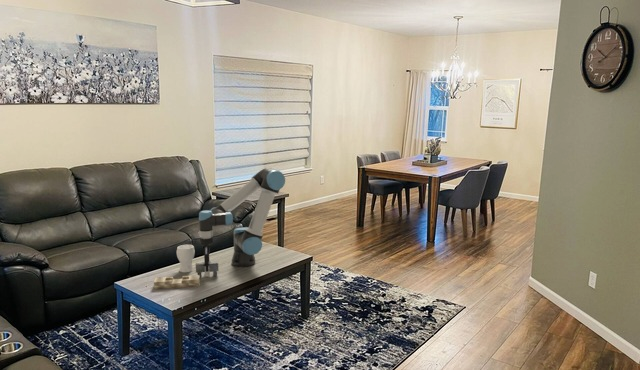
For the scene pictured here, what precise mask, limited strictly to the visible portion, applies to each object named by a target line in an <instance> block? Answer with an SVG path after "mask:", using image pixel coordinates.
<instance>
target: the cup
mask: <svg viewBox="0 0 640 370" xmlns="http://www.w3.org/2000/svg"><path fill="white" fill-rule="evenodd" d="M195 252H196V251H195V246H194V245H193V244H182V245H181V244H180V245H179V246H177V248H176V257H177V259H178V261H179V265H180V267H179V272H180V273H190V272H192V271H193V270H194V269H193V260H194V258H195V254H196V253H195Z"/></svg>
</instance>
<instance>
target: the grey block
mask: <svg viewBox="0 0 640 370" xmlns="http://www.w3.org/2000/svg"><path fill="white" fill-rule="evenodd" d="M203 265H205V262H195V273H197V275H200V278H201V277H202V276H203V275H202V274H203V273H205V266H203ZM209 270H210V273H211V272H212V276H213V277H218V272H219V261H211V262H210V261H209Z"/></svg>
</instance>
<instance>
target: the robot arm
mask: <svg viewBox="0 0 640 370" xmlns="http://www.w3.org/2000/svg"><path fill="white" fill-rule="evenodd" d="M285 184H286V177H285V175H284V173H282V171H280V170H278V169H275V168H272V167H264V168H263V169H261V170H259V171H258V172H256V174H254V175H253V176H252V177H251V179H250V180H249V181H248V182H246V184H244V185H243V186H242V187H240V188H239V189H238V190H236V192H234V193H233V194H232V195H231V196H229V197H228V198H227V199H225V200H224V201H223V202H221V203H220V204H219V205H218V206H216V207H212V208H211V209H209V210H206V209H205V210H201V211H199V213H198V226H199V227H198V229H199V231H198V234H199V244H200V245H203V246H202V250H203V257H204V262H203V263H205V265H203V266H205V272H204V277H206V278H207V277H210V275H211V272H210V270H209V262H212V261H210V252H211V246H210V245H212V244H213V243H214V238H213V236H214V231H213V227H222V226H230V225H232V224H233V223H234V217H233V216H234V215H233V214H232V211H233V210H235V209H236V208H237V207H238V206H240V205H241V204H242V203H243V202H245V201H246V200H247V199H248V198H250V197H252V195H254V194H255V193H256V192H257V191H259V190H261V192H260V194H259V196H258V200H257V203H256V206H255V207H254V208H255V209H254V212H253V214H252V217H251V218H250V219H251V220H250V222H249V225H248V227H247V226H245V227H237V228H235V229H234V230H233V254H232V257H231V265H232V266H236V267H248V266H253V265H254V264H255V263H256V257H255V255H257V254H258V253H259V252H260V251H261V250H262V248H263V242H262V240H263V237H264V234H263V230H264V227H265V225H266V222H267V218H268V215H269V214H270V211H271V207H272V205H273V202H274V200H275V199H274V198H275V197H276V196H277V195H279V192H280V190H282V188H283V187H285Z"/></svg>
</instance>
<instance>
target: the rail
mask: <svg viewBox="0 0 640 370" xmlns="http://www.w3.org/2000/svg"><path fill="white" fill-rule="evenodd" d="M200 279H201V277H200V275H198V274H194V275H182V277H181V278H174V276H161V277H155V278H154V281H153V289H154V290H162V289H178V288H192V287H193V288H195V287H200V284H201V281H200Z"/></svg>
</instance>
